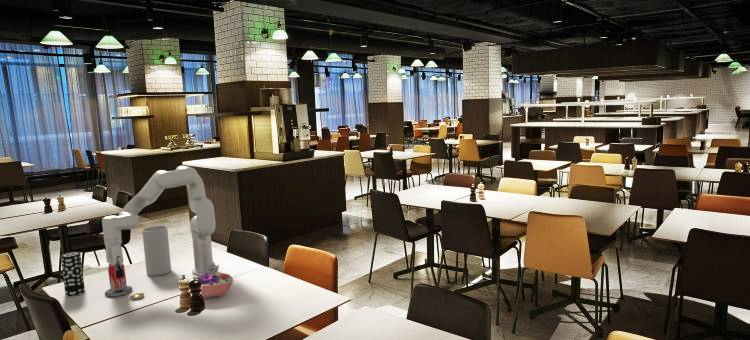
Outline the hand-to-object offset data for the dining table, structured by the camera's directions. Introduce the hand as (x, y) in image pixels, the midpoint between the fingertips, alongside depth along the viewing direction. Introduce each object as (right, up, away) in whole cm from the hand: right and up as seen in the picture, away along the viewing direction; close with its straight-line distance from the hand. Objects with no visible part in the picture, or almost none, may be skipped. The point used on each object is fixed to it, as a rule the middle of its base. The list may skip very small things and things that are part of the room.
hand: (117, 275), depth 237 cm
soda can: (0, -7, +1) cm, 7 cm away
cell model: (+50, -8, -6) cm, 51 cm away
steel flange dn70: (0, -9, +1) cm, 9 cm away
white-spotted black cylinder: (-22, -9, +2) cm, 24 cm away
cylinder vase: (+8, -5, +29) cm, 30 cm away
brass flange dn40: (+13, -9, -6) cm, 17 cm away
